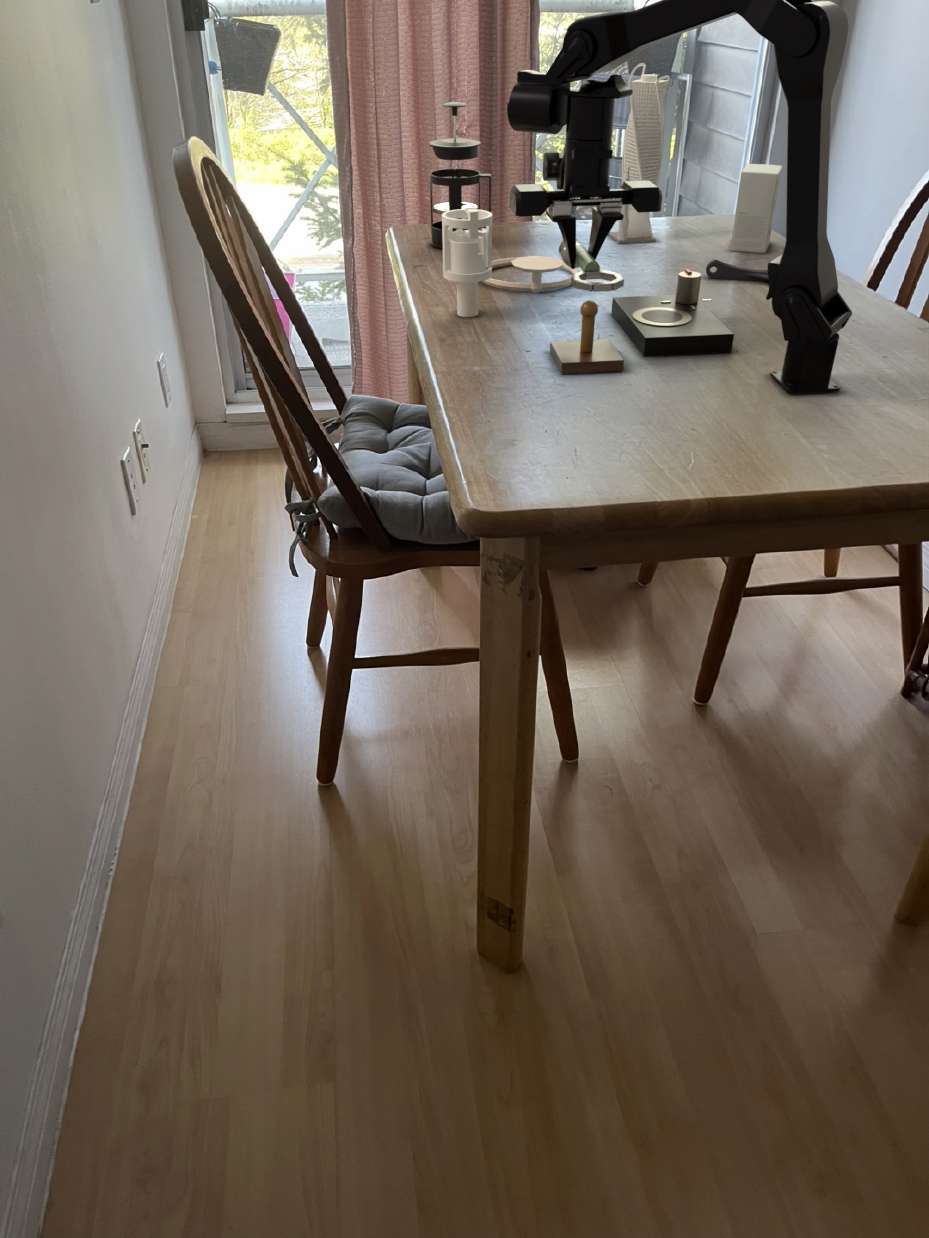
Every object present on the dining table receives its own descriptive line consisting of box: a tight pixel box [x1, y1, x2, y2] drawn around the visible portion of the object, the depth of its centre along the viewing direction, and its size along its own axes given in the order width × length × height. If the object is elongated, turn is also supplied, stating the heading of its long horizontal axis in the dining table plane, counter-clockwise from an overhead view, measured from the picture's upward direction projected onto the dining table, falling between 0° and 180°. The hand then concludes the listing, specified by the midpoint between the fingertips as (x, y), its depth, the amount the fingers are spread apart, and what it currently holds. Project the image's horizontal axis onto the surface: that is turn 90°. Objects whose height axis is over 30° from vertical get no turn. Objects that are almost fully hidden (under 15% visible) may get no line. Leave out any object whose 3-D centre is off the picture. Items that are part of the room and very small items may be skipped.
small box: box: [730, 163, 783, 254], centre depth 167 cm, size 8×6×13 cm
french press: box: [428, 101, 492, 251], centre depth 167 cm, size 12×9×23 cm
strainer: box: [441, 207, 493, 318], centre depth 136 cm, size 7×7×15 cm
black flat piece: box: [705, 259, 769, 282], centre depth 153 cm, size 14×15×3 cm
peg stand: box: [549, 299, 625, 375], centre depth 121 cm, size 8×8×8 cm
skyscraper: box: [607, 62, 671, 244], centre depth 169 cm, size 8×8×28 cm
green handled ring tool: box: [558, 238, 625, 293], centre depth 123 cm, size 21×6×4 cm, turn 6°
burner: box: [633, 307, 692, 327], centre depth 130 cm, size 8×8×1 cm
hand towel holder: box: [481, 255, 580, 294], centre depth 153 cm, size 17×4×21 cm
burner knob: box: [675, 268, 702, 305], centre depth 135 cm, size 3×3×4 cm
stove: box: [611, 294, 735, 357], centre depth 132 cm, size 18×14×3 cm
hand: (580, 268), depth 125 cm, fingers closed on green handled ring tool, 2 cm apart
